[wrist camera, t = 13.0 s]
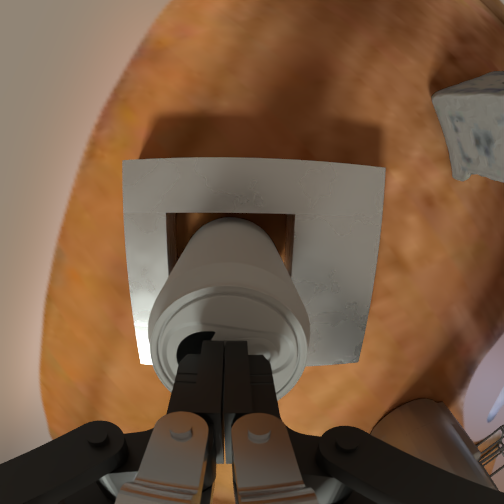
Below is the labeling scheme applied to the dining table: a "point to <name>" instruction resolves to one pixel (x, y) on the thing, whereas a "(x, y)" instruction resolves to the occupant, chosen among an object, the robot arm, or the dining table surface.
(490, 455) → the geometric lantern
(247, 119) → the dining table surface
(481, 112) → the incense holder
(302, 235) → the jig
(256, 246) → the beverage can
